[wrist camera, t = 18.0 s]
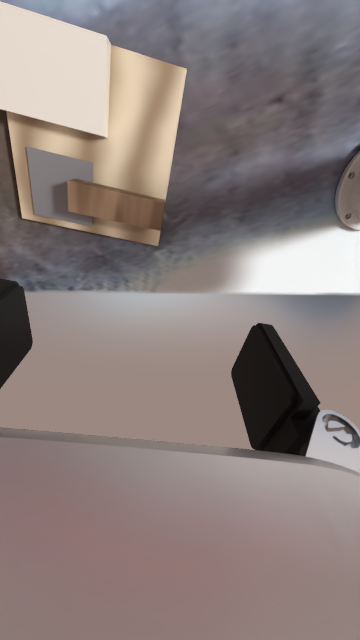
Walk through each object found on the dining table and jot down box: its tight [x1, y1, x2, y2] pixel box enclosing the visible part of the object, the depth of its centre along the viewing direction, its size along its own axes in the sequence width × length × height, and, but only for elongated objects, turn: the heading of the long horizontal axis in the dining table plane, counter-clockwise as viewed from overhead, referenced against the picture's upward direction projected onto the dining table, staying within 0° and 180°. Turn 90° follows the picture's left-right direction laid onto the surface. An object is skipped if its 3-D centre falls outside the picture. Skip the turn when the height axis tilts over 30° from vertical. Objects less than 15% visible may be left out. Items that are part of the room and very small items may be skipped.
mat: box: [26, 146, 93, 226], centre depth 32 cm, size 8×8×1 cm
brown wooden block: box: [67, 179, 165, 231], centre depth 31 cm, size 4×4×12 cm
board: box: [6, 45, 187, 246], centre depth 30 cm, size 20×20×1 cm
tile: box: [0, 1, 111, 138], centre depth 25 cm, size 2×8×12 cm
